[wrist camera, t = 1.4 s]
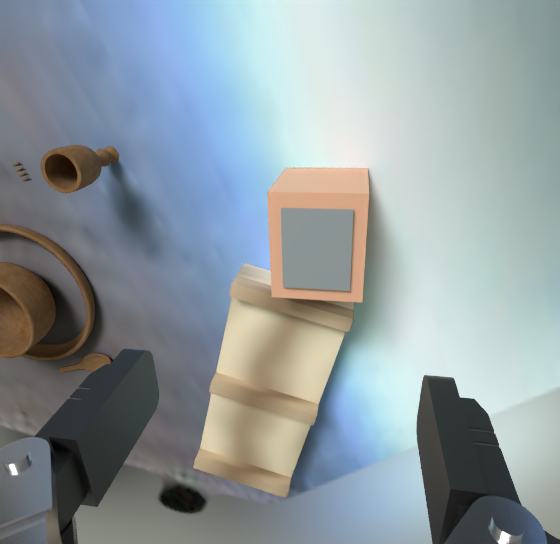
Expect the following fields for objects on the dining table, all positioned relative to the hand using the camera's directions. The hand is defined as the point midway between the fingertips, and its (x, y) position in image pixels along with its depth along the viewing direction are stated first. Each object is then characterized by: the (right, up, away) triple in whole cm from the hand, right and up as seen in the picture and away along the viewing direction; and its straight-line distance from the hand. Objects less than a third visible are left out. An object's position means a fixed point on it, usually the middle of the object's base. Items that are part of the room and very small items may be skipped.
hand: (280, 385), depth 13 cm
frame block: (+3, +7, +15) cm, 17 cm away
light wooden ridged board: (-1, -5, +21) cm, 22 cm away
